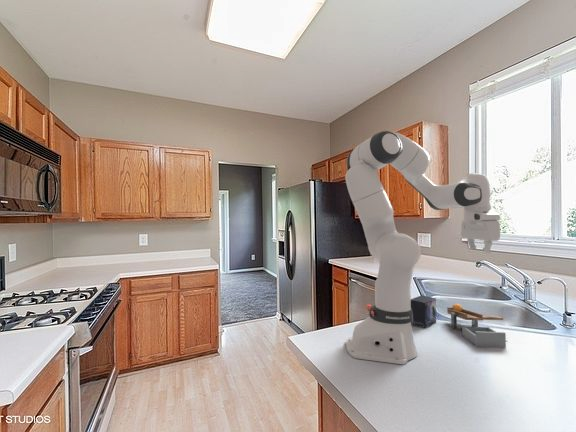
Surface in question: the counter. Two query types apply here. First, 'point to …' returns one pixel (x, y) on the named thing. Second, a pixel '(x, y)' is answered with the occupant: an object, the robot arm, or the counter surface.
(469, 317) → the brown wooden tray
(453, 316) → the stand
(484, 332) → the bin
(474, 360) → the counter surface
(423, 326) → the small box
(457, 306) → the ball
